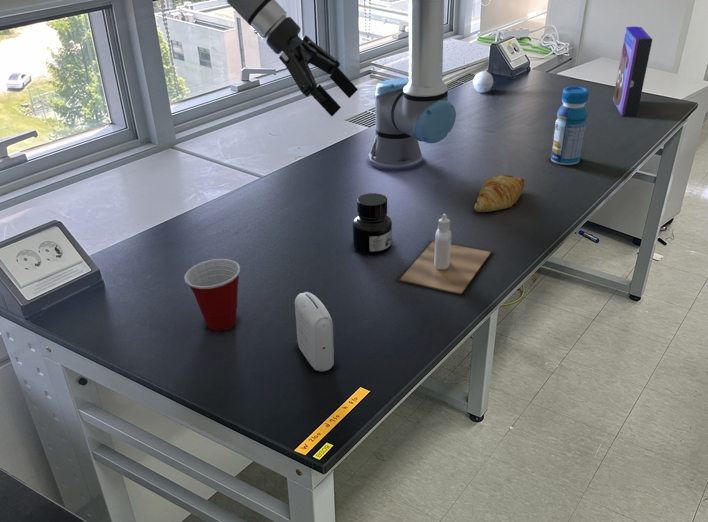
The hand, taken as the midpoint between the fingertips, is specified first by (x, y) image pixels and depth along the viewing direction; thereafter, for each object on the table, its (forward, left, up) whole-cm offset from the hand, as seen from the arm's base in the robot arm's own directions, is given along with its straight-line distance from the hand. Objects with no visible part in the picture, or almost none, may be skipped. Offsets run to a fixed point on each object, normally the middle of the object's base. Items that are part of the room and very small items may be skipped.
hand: (345, 102), depth 161 cm
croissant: (-28, +29, -30) cm, 51 cm away
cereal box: (-118, +45, -30) cm, 130 cm away
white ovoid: (-119, -4, -30) cm, 123 cm away
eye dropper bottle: (+10, +28, -30) cm, 42 cm away
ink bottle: (+8, +10, -30) cm, 33 cm away
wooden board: (+10, +29, -30) cm, 43 cm away
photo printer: (+52, +19, -30) cm, 63 cm away
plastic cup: (+50, -4, -30) cm, 58 cm away
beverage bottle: (-63, +38, -30) cm, 80 cm away
